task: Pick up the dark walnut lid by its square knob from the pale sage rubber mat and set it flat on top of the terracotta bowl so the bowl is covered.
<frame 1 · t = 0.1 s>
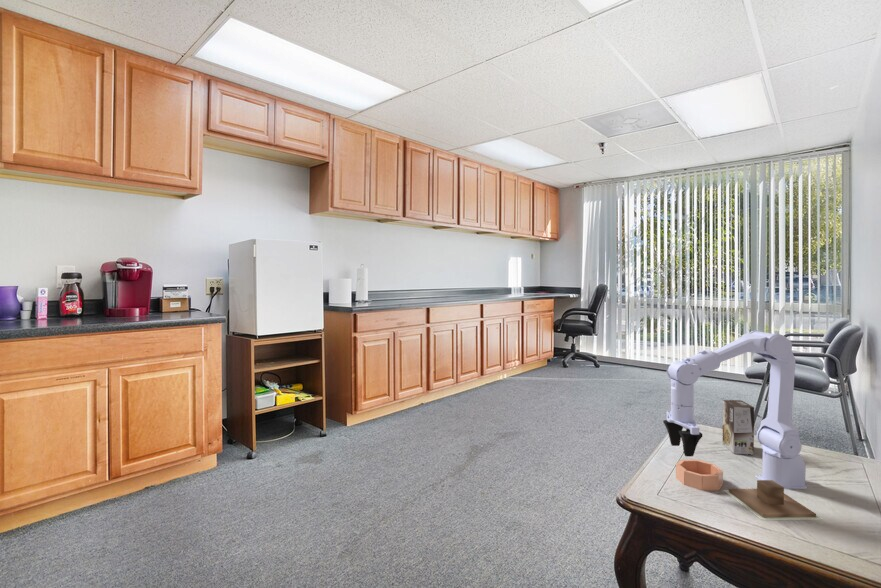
hand: (681, 450, 126), 10 cm above the table, tool pointing down, fingers open, 7 cm apart
coffee box: (737, 449, 151), on the table
mat: (770, 505, 114), on the table
lid: (770, 503, 114), resting on mat
bowl: (698, 482, 128), on the table
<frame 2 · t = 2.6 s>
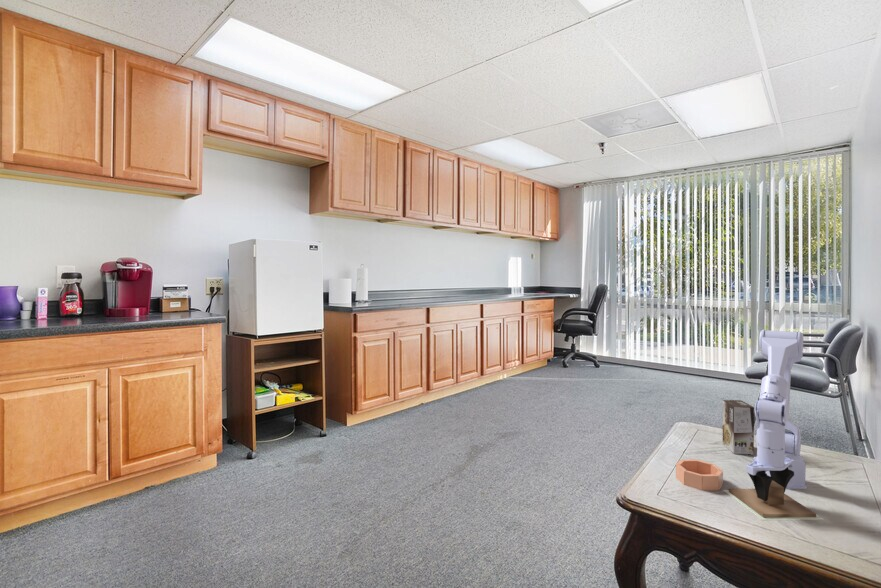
hand: (770, 497, 114), 2 cm above the table, tool pointing down, fingers closed on lid, 5 cm apart
lid: (770, 503, 114), resting on mat, touching gripper
everything else where it was.
when the fingers open (8 cm above the table, at t = 7.5 s): lid drops 1 cm, resting on bowl.
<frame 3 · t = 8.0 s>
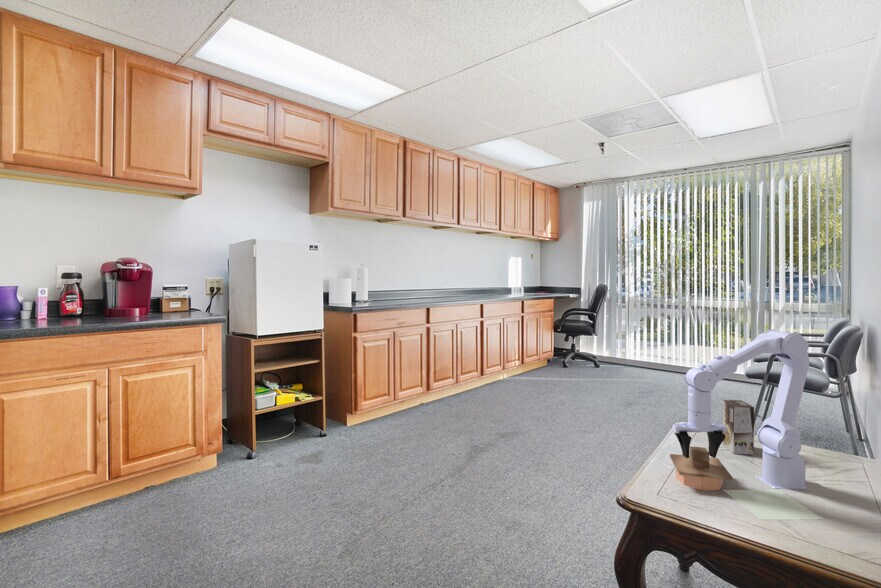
hand: (699, 456, 127), 8 cm above the table, tool pointing down, fingers open, 7 cm apart
lid: (699, 467, 127), point 4 cm above the table, touching bowl
everything else where it was.
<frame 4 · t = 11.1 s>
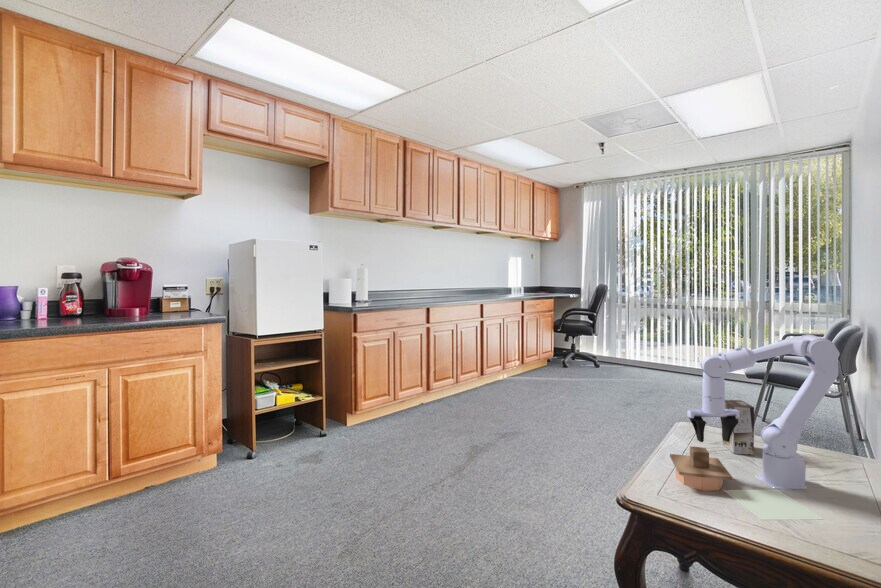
hand: (713, 440, 132), 10 cm above the table, tool pointing down, fingers open, 7 cm apart
nothing on the table moved.
at the end: lid 0.1 cm off-centre on the bowl, point 4.5 cm above the bowl's base; lid tilted 0°; the gripper is holding nothing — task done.
